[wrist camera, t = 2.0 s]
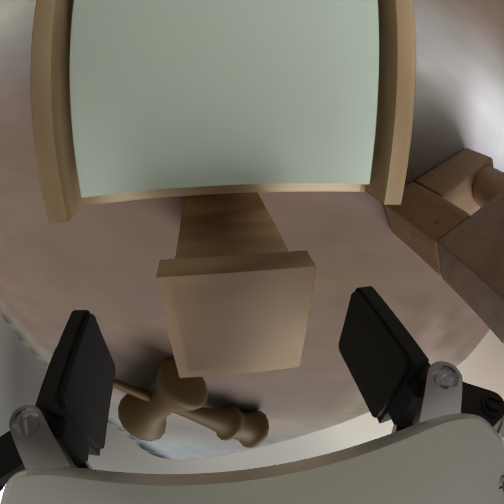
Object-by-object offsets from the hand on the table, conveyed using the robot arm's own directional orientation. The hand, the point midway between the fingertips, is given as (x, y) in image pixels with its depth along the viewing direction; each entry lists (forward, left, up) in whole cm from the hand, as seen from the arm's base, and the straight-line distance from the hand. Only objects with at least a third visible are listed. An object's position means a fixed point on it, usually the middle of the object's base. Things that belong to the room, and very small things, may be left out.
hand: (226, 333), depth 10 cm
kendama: (+4, +21, -12) cm, 25 cm away
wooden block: (-18, -2, -12) cm, 22 cm away
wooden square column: (0, 0, -12) cm, 12 cm away
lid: (0, -15, -3) cm, 15 cm away
